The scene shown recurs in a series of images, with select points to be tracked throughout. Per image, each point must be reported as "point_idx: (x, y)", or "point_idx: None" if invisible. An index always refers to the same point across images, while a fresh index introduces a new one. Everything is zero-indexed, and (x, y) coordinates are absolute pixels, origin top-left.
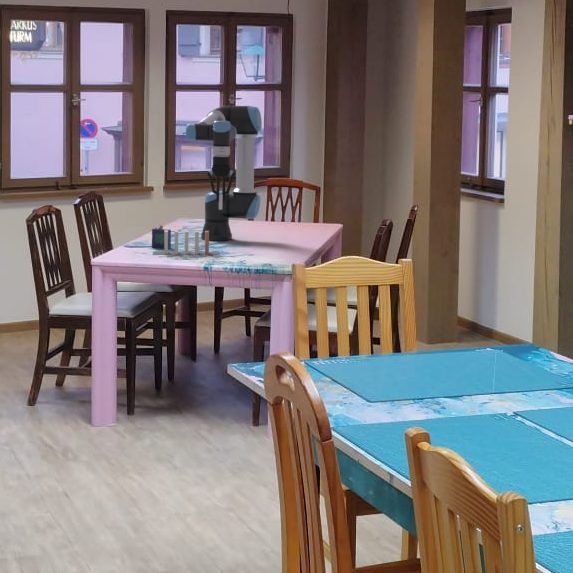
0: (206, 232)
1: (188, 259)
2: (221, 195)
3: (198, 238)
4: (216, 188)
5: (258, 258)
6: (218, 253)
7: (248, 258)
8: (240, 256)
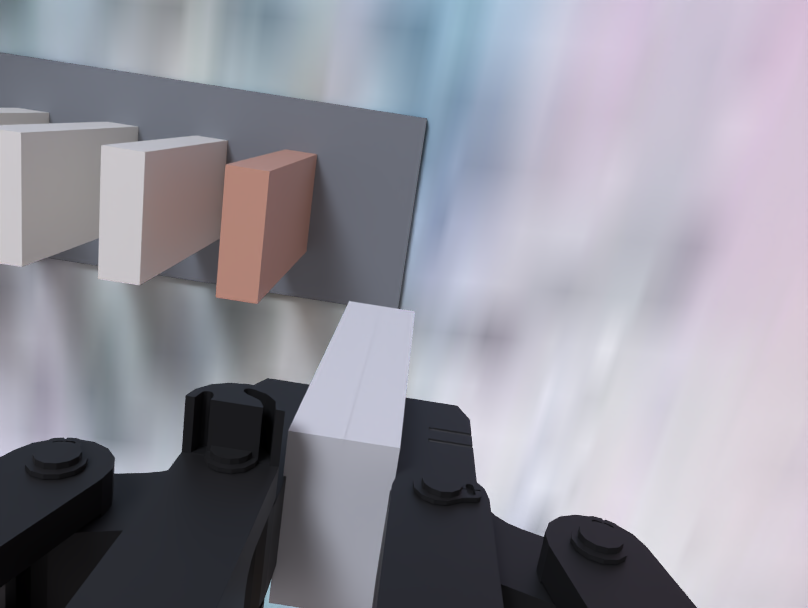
0: (229, 298)
1: (125, 438)
2: (341, 600)
3: (165, 269)
4: (108, 563)
5: (676, 453)
6: (400, 202)
7: (596, 445)
8: (560, 341)
